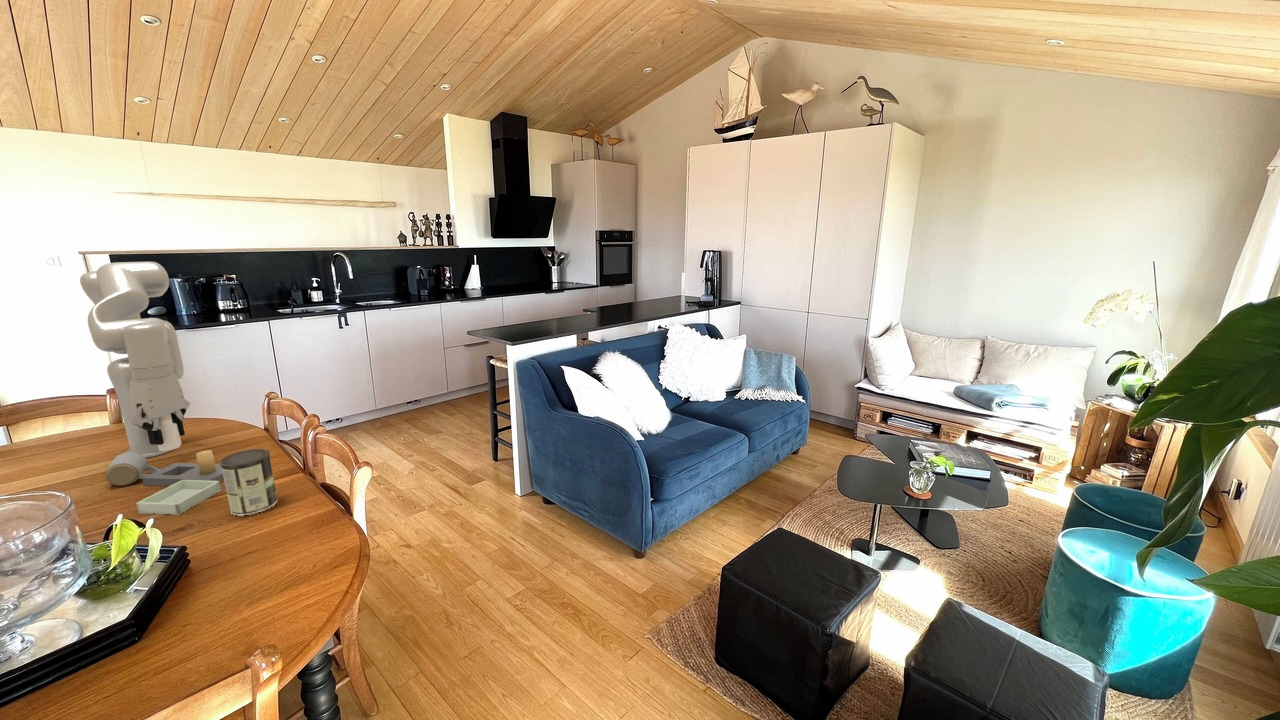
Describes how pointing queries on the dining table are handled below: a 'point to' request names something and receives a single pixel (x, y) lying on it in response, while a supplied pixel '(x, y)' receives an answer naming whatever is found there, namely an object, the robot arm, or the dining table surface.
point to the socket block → (187, 471)
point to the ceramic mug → (128, 469)
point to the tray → (178, 497)
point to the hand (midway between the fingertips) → (167, 438)
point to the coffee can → (249, 481)
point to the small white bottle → (169, 433)
